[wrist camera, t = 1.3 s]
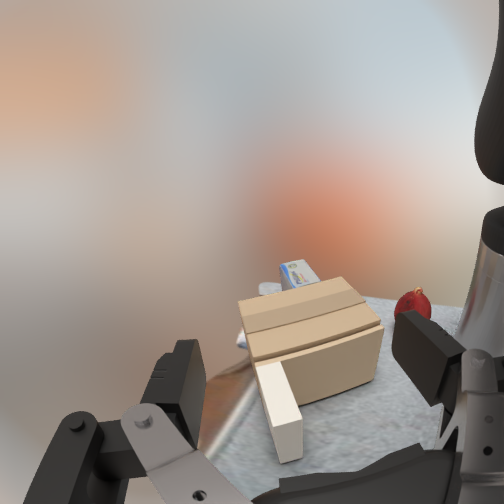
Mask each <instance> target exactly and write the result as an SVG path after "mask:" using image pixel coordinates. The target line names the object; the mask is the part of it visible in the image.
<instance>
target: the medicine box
mask: <svg viewBox="0 0 504 504" xmlns="http://www.w3.org/2000/svg"><path fill="white" fill-rule="evenodd" d="M280 277H281V286H282V291H286V290H290V289H294V288H298V287H302V286H306V285H310V284H314V283H318V282H321V280H320V279H319V278H318V277H317V275H316V274H315V273H314V272H313V270H312V269H311V268H310V266H309V265H308V264H307V263H306V261H305V260H297V261H292V262H288V263H284V264H281V265H280Z"/></svg>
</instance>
